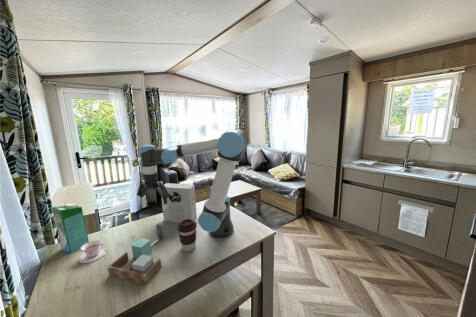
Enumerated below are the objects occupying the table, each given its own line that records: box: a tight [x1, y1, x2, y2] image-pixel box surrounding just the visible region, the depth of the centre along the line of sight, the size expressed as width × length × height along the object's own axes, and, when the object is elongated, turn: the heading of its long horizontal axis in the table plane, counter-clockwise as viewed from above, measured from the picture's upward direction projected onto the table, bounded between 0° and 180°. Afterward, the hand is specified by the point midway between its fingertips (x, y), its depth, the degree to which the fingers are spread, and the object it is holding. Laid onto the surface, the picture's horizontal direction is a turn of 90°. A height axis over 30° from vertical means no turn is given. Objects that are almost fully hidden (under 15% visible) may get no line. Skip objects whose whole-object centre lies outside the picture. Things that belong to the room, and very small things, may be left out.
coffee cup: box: [177, 219, 198, 252], centre depth 102 cm, size 10×10×15 cm
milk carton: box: [51, 203, 90, 254], centre depth 104 cm, size 9×9×25 cm
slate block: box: [131, 255, 155, 273], centre depth 85 cm, size 6×6×7 cm
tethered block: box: [131, 222, 164, 260], centre depth 103 cm, size 6×19×9 cm, turn 163°
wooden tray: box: [107, 251, 162, 285], centre depth 87 cm, size 20×10×4 cm, turn 75°
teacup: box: [77, 239, 108, 264], centre depth 98 cm, size 12×12×6 cm
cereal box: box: [160, 182, 198, 223], centre depth 130 cm, size 22×8×25 cm, turn 77°
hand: (154, 207), depth 110 cm, fingers open, 13 cm apart
